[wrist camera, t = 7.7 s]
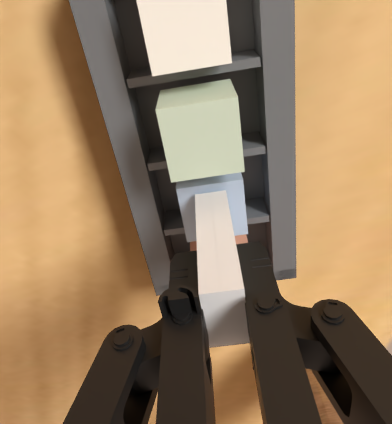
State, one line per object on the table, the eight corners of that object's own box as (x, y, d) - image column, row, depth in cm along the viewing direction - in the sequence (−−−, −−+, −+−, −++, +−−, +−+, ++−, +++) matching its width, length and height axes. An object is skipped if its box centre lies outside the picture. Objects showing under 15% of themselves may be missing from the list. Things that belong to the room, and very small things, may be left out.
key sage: (160, 90, 17) (155, 109, 14) (230, 78, 16) (238, 96, 14) (173, 154, 18) (171, 182, 16) (236, 145, 18) (244, 171, 16)
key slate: (177, 162, 20) (175, 189, 17) (235, 153, 20) (243, 179, 17) (187, 211, 21) (187, 242, 19) (240, 203, 21) (248, 233, 19)
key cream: (141, -18, 15) (132, -18, 13) (216, -32, 15) (222, -34, 13) (157, 62, 17) (152, 76, 14) (225, 50, 17) (232, 62, 14)
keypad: (74, -36, 16) (57, -38, 14) (279, -74, 15) (293, -83, 13) (159, 269, 26) (156, 295, 24) (287, 252, 25) (296, 277, 23)
